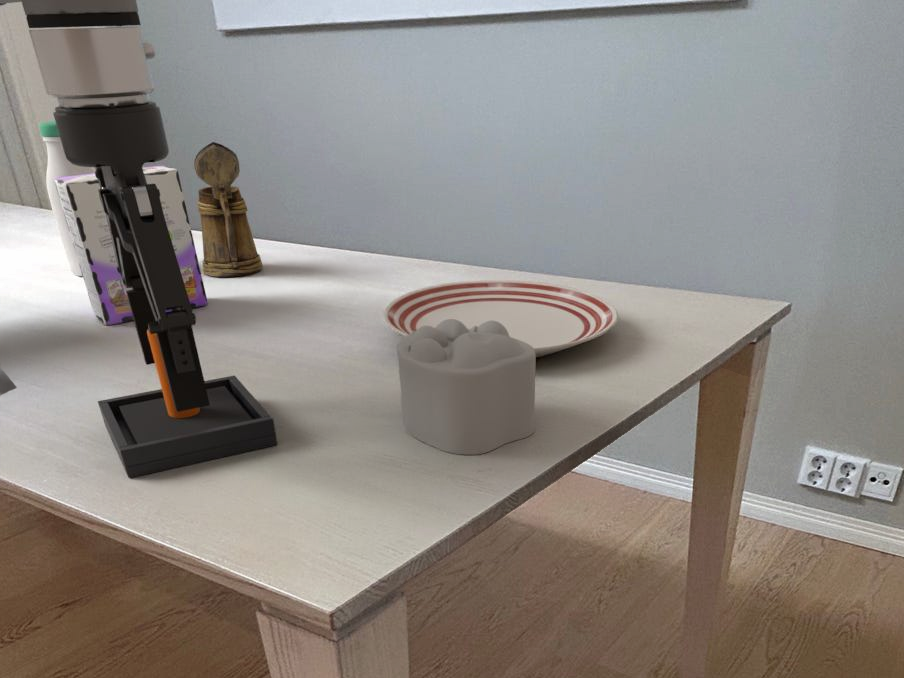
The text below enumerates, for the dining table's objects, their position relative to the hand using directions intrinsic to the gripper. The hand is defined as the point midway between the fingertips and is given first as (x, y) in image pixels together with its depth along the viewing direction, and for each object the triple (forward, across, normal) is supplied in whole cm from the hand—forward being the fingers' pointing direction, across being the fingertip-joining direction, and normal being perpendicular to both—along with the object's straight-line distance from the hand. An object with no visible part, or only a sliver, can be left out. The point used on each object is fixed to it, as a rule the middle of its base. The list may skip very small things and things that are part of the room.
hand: (175, 383), depth 74 cm
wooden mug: (+5, +59, -20) cm, 62 cm away
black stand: (+4, 0, 0) cm, 4 cm away
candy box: (+5, +45, -5) cm, 45 cm away
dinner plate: (+5, +10, -39) cm, 41 cm away
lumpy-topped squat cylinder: (+5, -11, -23) cm, 26 cm away
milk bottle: (+5, +73, -2) cm, 73 cm away
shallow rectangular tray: (+5, 0, 0) cm, 5 cm away
